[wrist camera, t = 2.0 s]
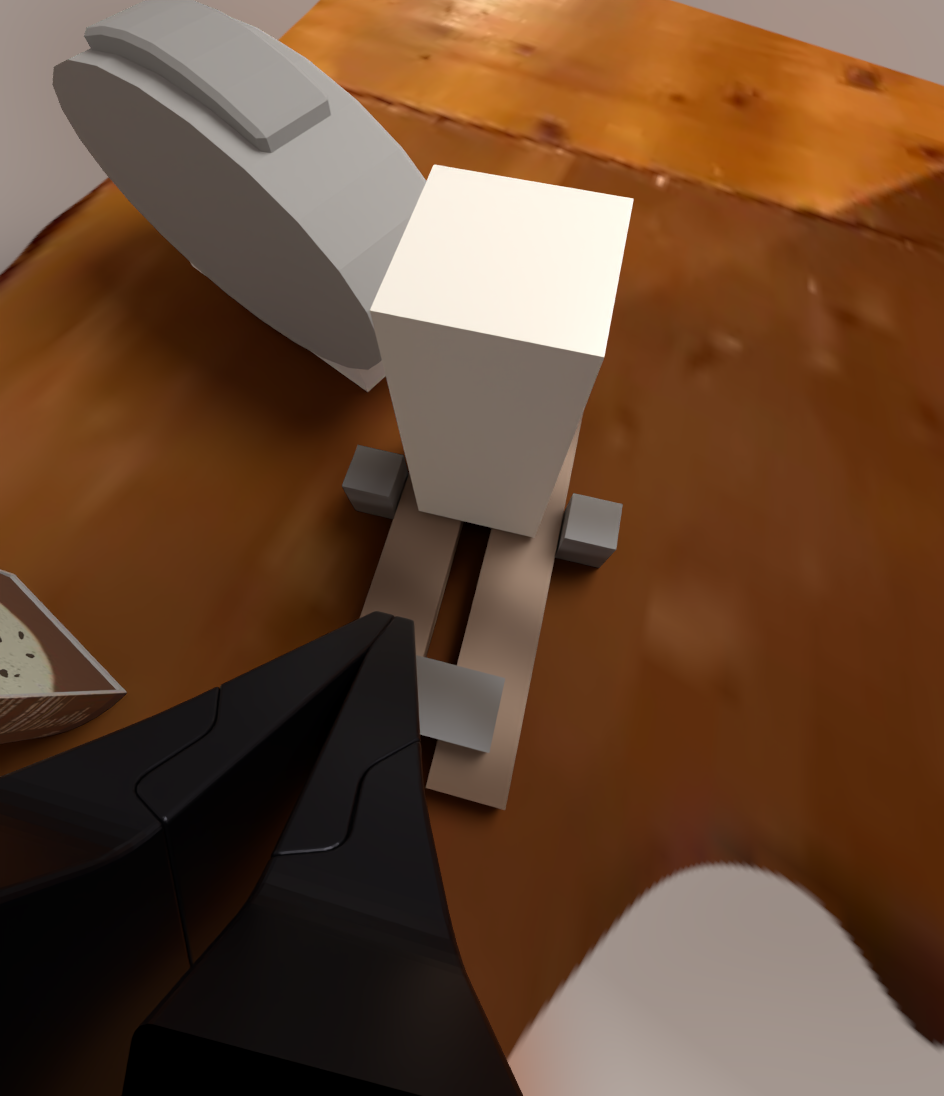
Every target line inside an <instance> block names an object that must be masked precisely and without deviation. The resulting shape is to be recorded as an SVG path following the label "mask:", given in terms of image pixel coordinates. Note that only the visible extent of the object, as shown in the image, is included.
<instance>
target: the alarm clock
mask: <svg viewBox="0 0 944 1096" xmlns="http://www.w3.org/2000/svg"><path fill="white" fill-rule="evenodd" d="M84 37H85V38H86V40H87V42H88V44H89V46H90V47H91V49H89V50H87V51H85V52H82V53H80V54H78V55H76V56H74V57H72V58H70V59H68V60H66V61H64V62H62V63H60V64H58V65H56V66H55V67H54V72H53V87H54V89H55V92H56V95H57V97H58V100H59V103H60V105H61V108H62V110H63V112H64V113H65V115H66V117H67V118H68V120H69V122H70V123H71V125H72V127H73V129H74V130H75V132H76V134H77V135H78V137H79V139H80V140H81V141H82V143H83V144H84V145H85V147H86V148H87V149H88V151H89V152H90V153H91V155H92V156H93V157H94V159H95V160H96V161H97V163H98V164H99V165H100V167H101V168H102V169H103V171H104V172H105V173H106V174H107V176H108V177H109V178H110V179H111V180H112V181H113V182H114V184H115V185H116V186H117V187H118V188H119V189H120V191H121V192H122V193H123V194H124V195H125V196H126V198H127V199H128V200H129V201H130V202H131V203H132V204H133V206H134V207H135V208H136V209H137V210H138V211H139V212H140V213H141V214H142V215H143V216H144V217H145V218H146V219H147V220H148V221H149V222H150V223H151V224H152V225H153V226H154V227H155V228H156V229H157V231H158V232H159V233H160V234H161V235H162V236H163V237H164V238H165V239H167V240H168V241H169V242H170V243H171V244H172V245H173V246H174V247H175V248H176V249H177V250H178V251H179V252H180V253H181V254H182V255H184V256H185V257H186V258H187V259H188V260H189V261H190V263H191V264H192V266H193V267H194V268H196V269H197V270H198V271H200V272H201V273H203V274H204V275H205V276H207V277H208V278H209V279H210V280H212V281H213V282H214V283H215V284H216V285H217V286H219V287H220V288H221V289H222V290H223V291H224V292H226V293H227V294H228V295H229V296H231V297H232V298H233V299H235V300H236V301H237V302H238V303H240V304H241V305H242V306H244V307H245V308H246V309H248V310H249V311H250V312H251V313H253V314H254V315H255V316H257V317H258V318H259V319H261V320H262V321H263V322H265V323H266V324H268V325H269V326H271V327H272V328H274V329H275V330H277V331H278V332H280V333H281V334H283V335H284V336H286V337H287V338H289V339H290V340H292V341H293V342H295V343H297V344H299V345H300V346H302V347H304V348H306V349H308V350H309V351H311V352H312V353H314V354H315V355H317V356H318V357H319V358H321V359H322V360H324V361H325V362H326V363H328V364H329V365H331V366H332V367H333V368H335V369H336V370H338V371H339V372H340V373H342V374H343V375H344V376H346V377H347V378H349V379H350V380H351V381H353V382H354V383H356V384H357V385H358V386H360V387H361V388H363V389H364V390H365V391H367V392H369V391H370V390H371V389H372V388H373V387H374V386H375V385H376V384H378V383H379V382H380V381H381V380H382V379H383V378H384V377H385V376H386V375H385V371H384V367H383V363H382V358H381V354H380V350H379V346H378V342H377V338H376V334H375V330H374V326H373V322H372V318H371V314H370V309H371V306H372V304H373V302H374V300H375V297H376V295H377V293H378V290H379V288H380V286H381V284H382V281H383V279H384V277H385V275H386V272H387V270H388V268H389V265H390V263H391V261H392V259H393V256H394V254H395V252H396V250H397V247H398V245H399V243H400V240H401V238H402V236H403V234H404V231H405V229H406V227H407V225H408V222H409V220H410V218H411V215H412V213H413V211H414V209H415V206H416V204H417V202H418V200H419V197H420V195H421V193H422V191H423V188H424V186H425V184H426V180H425V179H424V177H423V176H422V174H421V173H420V172H419V170H418V169H417V168H416V166H415V165H414V163H413V162H412V161H411V159H410V158H409V156H408V155H407V154H406V152H405V151H404V150H403V148H402V147H401V146H400V145H399V144H398V143H397V142H396V141H395V140H394V139H393V138H392V137H391V136H390V134H389V133H388V132H387V131H386V130H385V129H384V128H383V127H382V126H381V125H380V124H379V123H378V122H377V121H376V120H375V119H374V118H373V117H372V115H371V114H370V113H369V112H368V111H367V110H366V109H365V108H364V107H363V106H362V105H361V104H360V103H359V102H358V101H357V100H356V99H355V98H354V97H353V96H351V95H350V94H349V93H348V92H346V91H345V90H344V89H343V88H342V87H340V86H339V85H338V84H337V83H336V82H334V81H333V80H332V79H331V78H330V77H328V76H327V75H326V74H325V73H324V72H322V71H321V70H320V69H319V68H318V67H316V66H315V65H314V64H313V63H312V62H310V61H309V60H308V59H307V58H305V57H303V56H302V55H300V54H299V53H297V52H295V51H294V50H292V49H291V48H289V47H287V46H286V45H284V44H283V43H281V42H279V41H278V40H276V39H275V38H273V37H271V36H270V35H268V34H267V33H265V32H263V31H262V30H260V29H258V28H257V27H254V26H251V25H249V24H247V23H244V22H242V21H239V20H237V19H234V18H231V17H229V16H228V15H226V14H224V13H222V12H221V11H219V10H216V9H214V8H211V7H209V6H206V5H204V4H201V3H199V2H196V1H194V0H145V1H143V2H141V3H139V4H137V5H135V6H132V7H130V8H128V9H126V10H124V11H122V12H119V13H117V14H115V15H113V16H111V17H109V18H106V19H104V20H102V21H100V22H98V23H96V24H94V25H91V26H89V27H87V28H86V31H85V35H84Z"/></svg>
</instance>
